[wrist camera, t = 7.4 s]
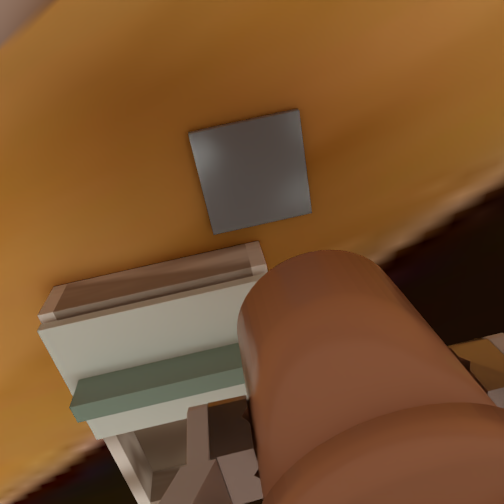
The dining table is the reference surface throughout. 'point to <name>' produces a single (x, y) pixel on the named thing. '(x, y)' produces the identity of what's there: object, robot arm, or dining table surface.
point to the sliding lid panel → (151, 357)
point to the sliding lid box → (136, 290)
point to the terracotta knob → (360, 393)
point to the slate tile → (252, 170)
